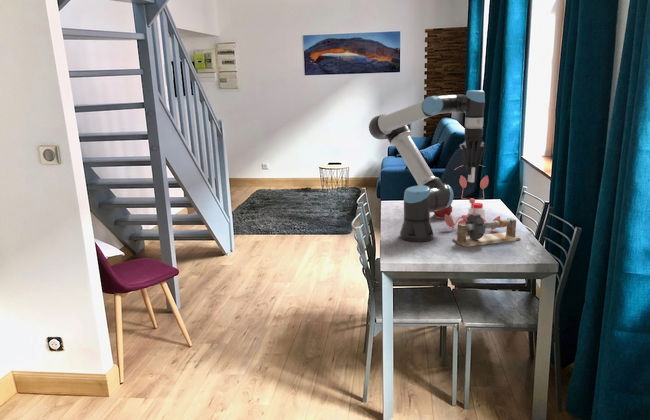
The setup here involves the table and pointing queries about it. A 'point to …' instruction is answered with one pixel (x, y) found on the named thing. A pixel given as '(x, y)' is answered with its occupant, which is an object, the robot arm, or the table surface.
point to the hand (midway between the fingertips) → (471, 181)
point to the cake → (443, 212)
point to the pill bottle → (477, 209)
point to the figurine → (463, 184)
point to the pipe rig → (488, 238)
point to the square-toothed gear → (476, 226)
